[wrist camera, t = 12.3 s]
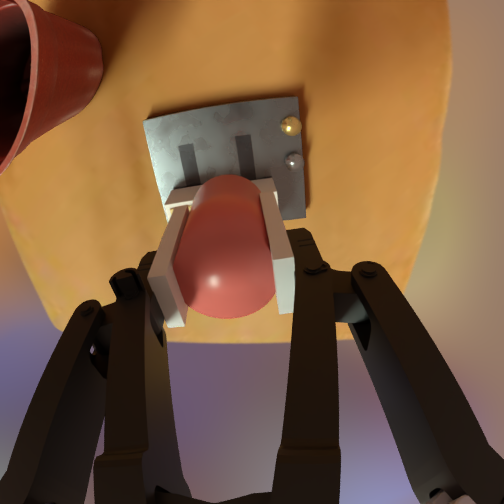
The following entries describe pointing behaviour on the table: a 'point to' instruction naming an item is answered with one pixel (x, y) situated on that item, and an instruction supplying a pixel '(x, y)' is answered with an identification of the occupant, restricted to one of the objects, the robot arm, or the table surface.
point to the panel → (232, 148)
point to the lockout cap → (225, 251)
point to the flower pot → (41, 73)
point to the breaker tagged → (180, 198)
